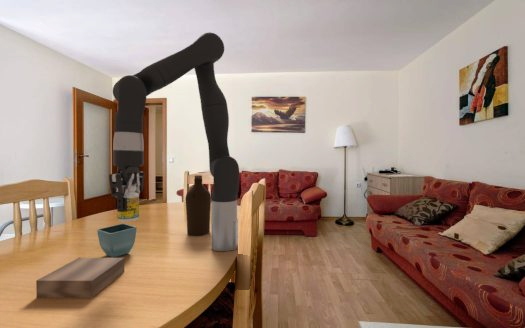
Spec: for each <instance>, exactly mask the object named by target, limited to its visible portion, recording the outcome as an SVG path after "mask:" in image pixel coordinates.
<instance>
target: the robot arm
mask: <svg viewBox="0 0 525 328" xmlns="http://www.w3.org/2000/svg"><path fill="white" fill-rule="evenodd" d="M224 53H225V45H224V42H223V40H222V38H221V37H220V35H218V34H216V33H214V32H211V31H210V32H205V33H203V34H201V35H200V36H199V37H198V38H197V39H195V41H194V42H193V43H192V44H190V45H188V46H186V47H185V48H183V49H181V50H179V51H177V52H175V53H173V54H170V55H168V56H166V57H164V58H162V59H160V60H157V61H155V62H153V63H151V64H149V65H147V66H145V67H144V68H143V69H141V70H140V71H138V72H137V73H134V74H133V75H131V74H130V75H129V74H128V75H125V76H123V77H121V78H120V79H119V80H117V82H115V84H114V86H113V87H112V95H113V98H114V99H115V100H116V101H117V105H118V106H117V111H116V112H115V115H114V130H113V131H114V135H113V141H112V142H113V143H112V145H113V147H112V149H113V151H112V153H113V154H112V155H113V156H112V157H113V158H112V165H113V166H114V167H117V169H116V173H110V174H109V176H108V180H109V186H110V195H111V196H110V197H114V198H116V211H118V212H125V211H126V210H127V198H126V197H127V193H128V190H130V188H131V185H135V186H136V191H135V192H136V193H138V194H139V195H141V194H140V193H141V192H143V191H144V186H145V185H144V184H145V183H144V182H145V175H146V173H145V172H144V171H140V169H139V168H140V167H143V166H144V163H145V162H144V157H145V156H144V155H145V153H144V151H145V150H144V148H145V147H144V146H145V143H144V135H143V134H144V132H143V131H144V121H143V119H144V113H145V108H146V103H147V97H148V96H149V95H151V94H153V93H154V92H156V91H158V90H162V89H163V88H165V87H167V86H169V85H171V84H173V83H174V82H176V81H178V79H180V78H182V77H183V76H184V75H186V74H187V73H189V72H190V71H192V70H193V69H194V72H195V76H196V81H197V87H198V93H199V99H200V100H199V101H200V108H201V113H202V115H201V116H202V121H203V125H204V126H203V127H204V130H205V132H204V133H205V136H206V140H207V147H208V156H209V157H208V159H209V160H208V161H209V162H208V163H209V166H208V167H209V172H210V174H211V176H212V177H213V181H212V182H213V186H212V187H213V188H212V191H211V193H210V195H211V249H212V250H214V251H216V252H229V251H233V250H234V251H235V250H237V247H238V245H239V219H238V194H239V191H240V189H239V188H240V166H239V163H238V161H237V160H236V158H234V157H232V156H231V154H230V152H229V151H230V150H229V146H228V145H229V144H228V136H229V134H228V133H229V126H230V125H229V124H230V121H229V120H230V117H229V109H228V103H227V98H226V96H225V94H224V92H223V90H221V88H220V87H219V84H218V82H217V79H216V75H215V63H216V62H218V61H219V60H220V59H221V58H222V57H223V56H224ZM123 190H124V192H123ZM237 244H238V245H237Z"/></svg>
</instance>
